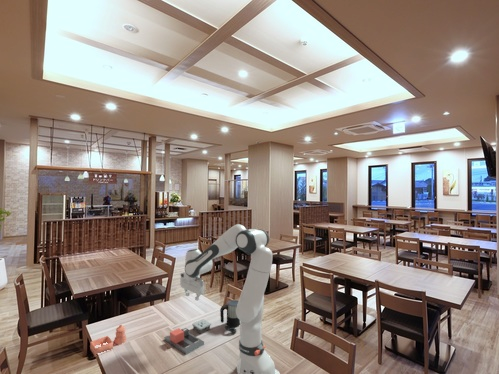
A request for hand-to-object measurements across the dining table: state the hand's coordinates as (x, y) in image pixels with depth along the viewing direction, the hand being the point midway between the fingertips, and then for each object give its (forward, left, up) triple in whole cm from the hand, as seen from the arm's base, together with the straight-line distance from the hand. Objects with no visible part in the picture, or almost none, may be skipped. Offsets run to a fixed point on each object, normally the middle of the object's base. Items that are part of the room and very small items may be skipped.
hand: (192, 297), depth 158 cm
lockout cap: (+4, +8, -24) cm, 25 cm away
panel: (+1, +5, -25) cm, 26 cm away
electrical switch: (0, -11, -26) cm, 28 cm away
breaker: (+5, +1, -23) cm, 24 cm away
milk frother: (-10, -26, -25) cm, 38 cm away
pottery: (+30, +36, -26) cm, 53 cm away
